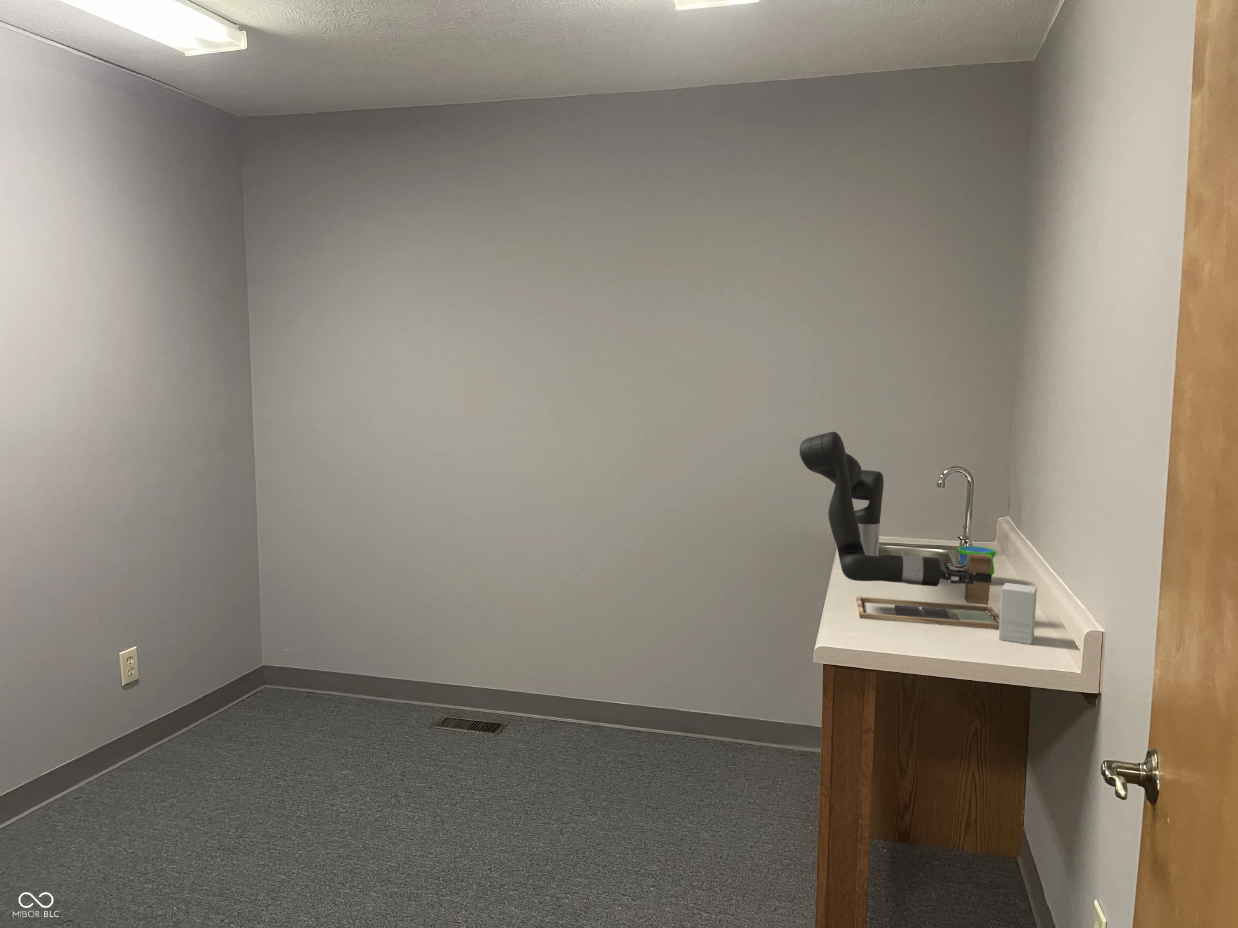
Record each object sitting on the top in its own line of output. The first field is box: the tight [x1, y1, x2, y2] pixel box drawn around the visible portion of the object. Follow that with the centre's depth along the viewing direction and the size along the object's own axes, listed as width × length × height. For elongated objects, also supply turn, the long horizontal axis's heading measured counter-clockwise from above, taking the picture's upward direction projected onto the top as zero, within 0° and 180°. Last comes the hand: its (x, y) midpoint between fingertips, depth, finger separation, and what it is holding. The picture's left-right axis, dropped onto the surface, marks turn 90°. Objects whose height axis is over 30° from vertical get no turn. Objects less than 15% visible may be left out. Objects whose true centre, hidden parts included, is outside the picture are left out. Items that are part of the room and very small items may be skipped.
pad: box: [953, 609, 996, 623], centre depth 226 cm, size 12×8×1 cm
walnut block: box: [963, 554, 992, 606], centre depth 225 cm, size 5×5×12 cm
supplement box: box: [998, 582, 1038, 645], centre depth 208 cm, size 7×7×13 cm
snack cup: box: [957, 545, 997, 576], centre depth 267 cm, size 16×10×10 cm
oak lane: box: [855, 596, 1000, 630], centre depth 228 cm, size 18×35×1 cm, turn 77°
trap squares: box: [894, 605, 953, 620], centre depth 229 cm, size 12×13×1 cm
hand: (988, 575), depth 224 cm, fingers closed on walnut block, 5 cm apart
